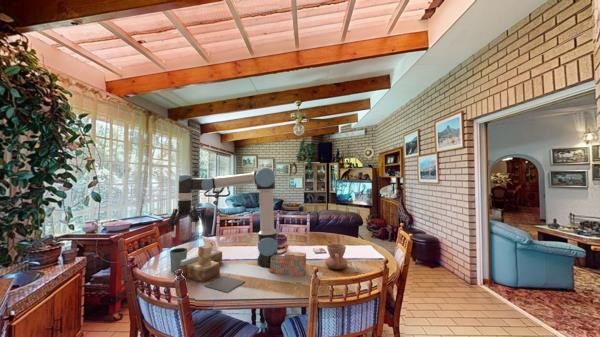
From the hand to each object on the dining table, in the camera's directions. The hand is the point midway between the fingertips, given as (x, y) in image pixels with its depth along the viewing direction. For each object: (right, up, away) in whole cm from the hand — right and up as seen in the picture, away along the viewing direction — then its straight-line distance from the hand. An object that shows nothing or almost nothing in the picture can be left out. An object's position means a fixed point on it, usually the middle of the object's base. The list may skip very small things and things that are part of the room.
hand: (183, 234), depth 149 cm
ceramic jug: (+95, -25, +10) cm, 98 cm away
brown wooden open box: (+15, -23, +1) cm, 28 cm away
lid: (+12, -18, -4) cm, 22 cm away
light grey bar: (+7, -16, -2) cm, 17 cm away
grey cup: (-6, -24, +6) cm, 25 cm away
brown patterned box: (+64, -24, +1) cm, 68 cm away
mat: (+30, -23, -15) cm, 41 cm away
